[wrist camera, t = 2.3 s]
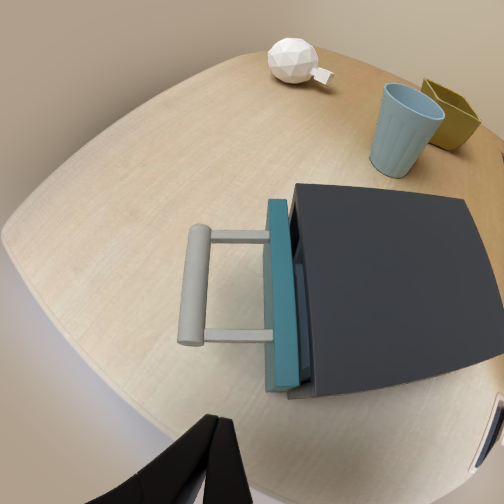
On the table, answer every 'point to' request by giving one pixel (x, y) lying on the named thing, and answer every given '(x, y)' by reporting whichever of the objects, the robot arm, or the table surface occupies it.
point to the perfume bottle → (296, 62)
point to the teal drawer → (275, 298)
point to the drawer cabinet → (391, 288)
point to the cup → (403, 128)
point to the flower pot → (451, 116)
